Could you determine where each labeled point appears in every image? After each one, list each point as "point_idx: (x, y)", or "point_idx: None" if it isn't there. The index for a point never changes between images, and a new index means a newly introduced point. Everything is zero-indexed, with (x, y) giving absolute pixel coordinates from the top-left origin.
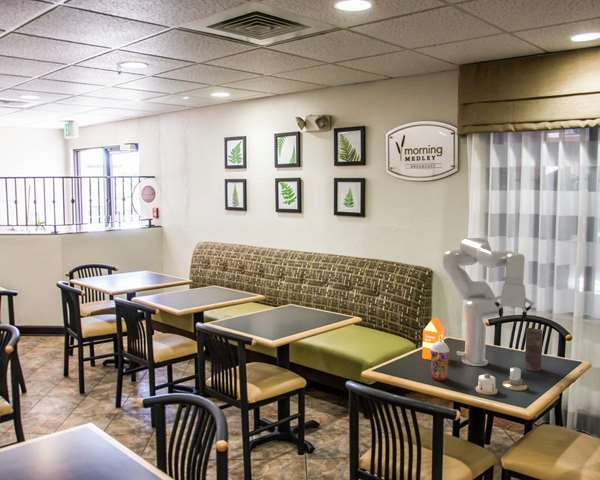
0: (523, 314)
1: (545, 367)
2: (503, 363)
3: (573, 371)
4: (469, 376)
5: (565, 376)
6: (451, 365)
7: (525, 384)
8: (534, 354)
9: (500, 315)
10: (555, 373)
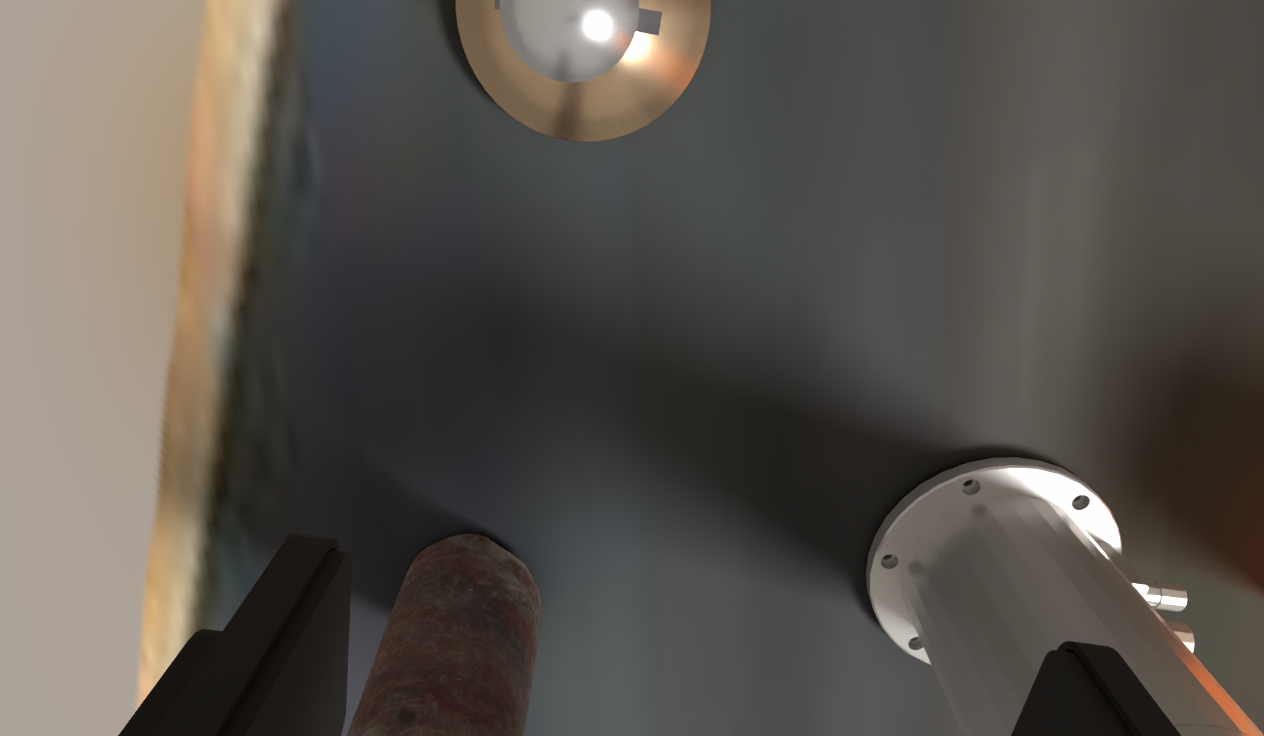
0: (195, 705)
1: None
2: (728, 635)
3: (165, 666)
4: (1054, 130)
5: (196, 523)
6: (1220, 393)
7: (478, 64)
8: (425, 645)
9: (1120, 690)
10: None
